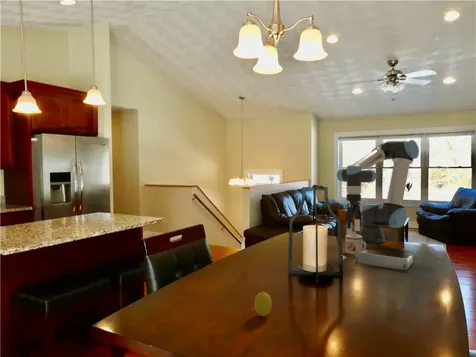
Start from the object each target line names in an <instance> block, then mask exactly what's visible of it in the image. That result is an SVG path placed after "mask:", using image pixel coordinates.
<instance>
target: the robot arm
mask: <svg viewBox="0 0 476 357" xmlns="http://www.w3.org/2000/svg"><path fill="white" fill-rule="evenodd" d="M419 149H420V148H419V146H418V143H417V141H415V140H414V139H400V140H388V141H386V142H383V143H381V144H379V145H378V146H375V147H374V148H373V149H372V150H371V152H369V153H368V154H366V155H365V156H363V157H362V158H360V159H358V160H357V161H356V162H354V163H353V164H350V165H347V167H346V168H341V169H339V170H337V173H336V177H337V180H338V181H339V182H344V183H346V187H345V189H346V193H347V194H346V201H347V207H346V213H345V219H344V222H345V223H346V235H352V231H353V229H354V231H355V232H359V233H358V235H361V236H362V237H363V238H362V241H364V242H365V243H370V244H371V243H373V244H374V243H375V244H379V243H380V244H381V243H384V242H385V235H384V232H383V229H382V226H383V227H390V228H393V229H394V228H402V227H403V226H404V225H405V223H406V222H407V220H408V212H407V209H405V205H404V204H403V202H404V196H405V191H406V185H407V180H408V174H409V168H410V165H412V164H413V162H414V160H416V159H418V156H419V154H420V150H419ZM386 160H391V161H392V162H393V166H392V171H391V177H390V182H389V187H388V192H387V193H388V194H387V197H386V200H385V201H384V202H383V203H382V204H381V203H369V204H362V205H361V203H360V202H361V201H362V184H363V183H368V184H369V183H373V182H375V181H376V179H377V177H378V176H377V172H376V170H374V169H371V168H372V167H373V166H375V165H376V164H378V163H381V162H384V161H386ZM348 202H349V203H348ZM360 205H361V206H360ZM353 216H354V217H353ZM353 218H354V228H353ZM360 225H361V226H360Z"/></svg>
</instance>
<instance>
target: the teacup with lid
mask: <svg viewBox="0 0 476 357" xmlns="http://www.w3.org/2000/svg"><path fill="white" fill-rule="evenodd" d="M344 238H345V253H347V254H348V253H349V254H348V255H355V252H362V251H364V250H366V248H367V242H364V241H362V238H363V237H362V236H361V235H359V233H357V231H353V230H352V235H348V234H345V236H344Z"/></svg>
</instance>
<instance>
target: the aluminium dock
mask: <svg viewBox="0 0 476 357" xmlns="http://www.w3.org/2000/svg"><path fill="white" fill-rule="evenodd" d="M354 262H355V264H361V265H362V264H363V265H368V266H376V267H381V268H387V269H388V268H389V269H395V270H402V271H408V270H409V268H410V267H411V266H412V264H413V262H414V255H409V256H408V257H407V258H406V257H405V258H403V257H399V256H398V257H397V256H388V255H382V254H376V253H375V254H373V253H368V250H367V249H364V250H362V252H355V254H354Z"/></svg>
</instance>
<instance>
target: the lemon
mask: <svg viewBox="0 0 476 357" xmlns="http://www.w3.org/2000/svg"><path fill="white" fill-rule="evenodd" d="M271 298H272V297H271V296H270V294H268V293H267V292H265V291H261V292H259V293H257V294H256V295H255V297H254V301H253V303H254V304H253V306H254V310H255V312H256V313H257V314H258V315H259V316H260V317H263V318H264V317H265V316H267V315H268V314H269V313H270V312H271V310H272V299H271Z"/></svg>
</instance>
